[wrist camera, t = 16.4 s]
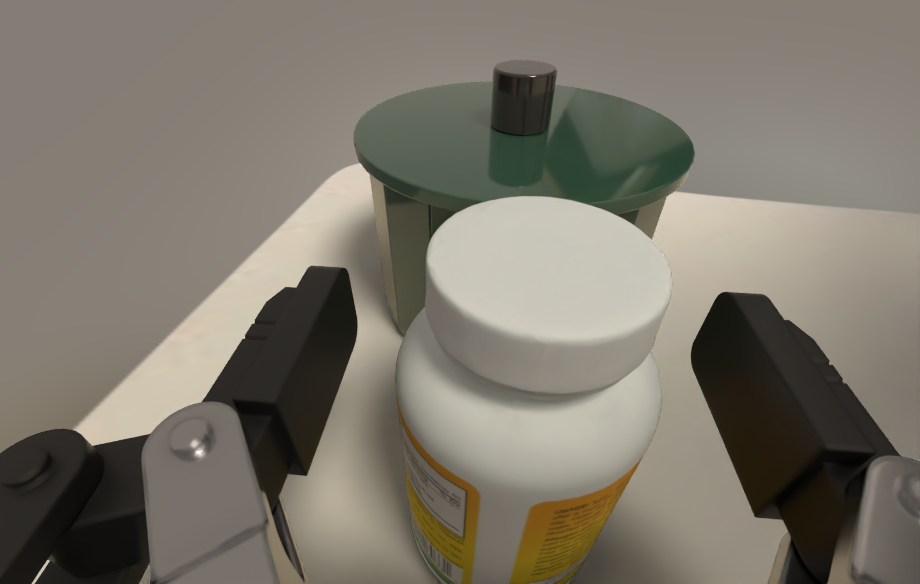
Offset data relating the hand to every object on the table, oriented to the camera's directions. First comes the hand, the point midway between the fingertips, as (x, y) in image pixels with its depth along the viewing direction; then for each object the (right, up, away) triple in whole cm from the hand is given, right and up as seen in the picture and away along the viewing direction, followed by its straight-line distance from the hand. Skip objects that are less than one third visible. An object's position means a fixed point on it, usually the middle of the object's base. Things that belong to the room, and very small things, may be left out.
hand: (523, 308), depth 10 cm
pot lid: (+1, +6, +7) cm, 9 cm away
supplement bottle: (0, -6, +4) cm, 7 cm away
